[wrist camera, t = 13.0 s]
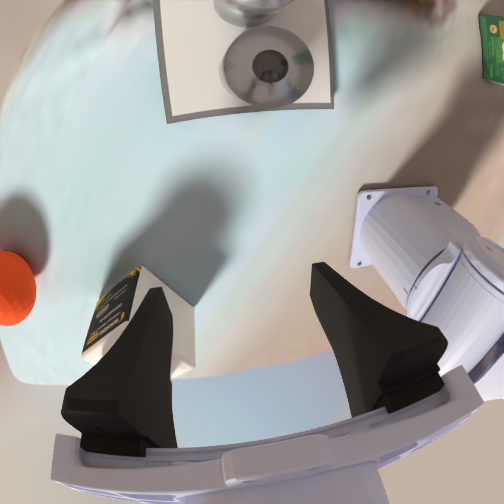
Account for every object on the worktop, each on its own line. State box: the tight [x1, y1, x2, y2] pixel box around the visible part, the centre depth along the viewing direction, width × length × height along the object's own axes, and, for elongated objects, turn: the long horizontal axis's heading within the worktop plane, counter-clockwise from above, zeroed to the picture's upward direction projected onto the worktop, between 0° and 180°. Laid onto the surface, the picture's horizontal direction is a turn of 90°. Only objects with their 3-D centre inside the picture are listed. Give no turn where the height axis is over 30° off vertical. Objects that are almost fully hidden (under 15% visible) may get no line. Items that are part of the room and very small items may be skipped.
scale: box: [153, 0, 334, 124], centre depth 13 cm, size 11×13×3 cm
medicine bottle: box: [82, 265, 195, 403], centre depth 21 cm, size 7×7×12 cm
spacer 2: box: [219, 26, 314, 108], centre depth 12 cm, size 4×4×5 cm
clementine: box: [0, 251, 36, 326], centre depth 18 cm, size 8×7×7 cm
